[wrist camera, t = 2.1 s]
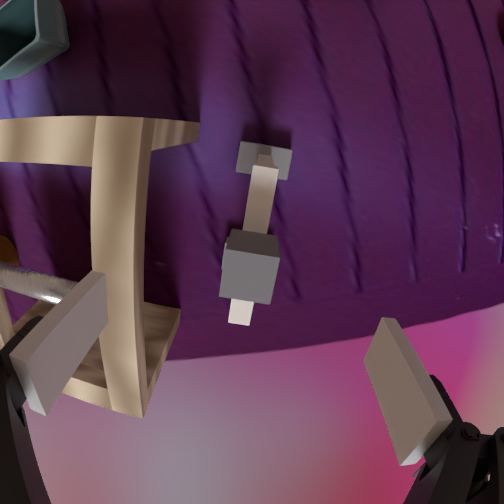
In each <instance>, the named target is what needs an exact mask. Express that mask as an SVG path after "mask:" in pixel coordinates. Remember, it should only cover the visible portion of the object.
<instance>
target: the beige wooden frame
mask: <svg viewBox="0 0 504 504" xmlns="http://www.w3.org/2000/svg"><path fill="white" fill-rule="evenodd" d="M199 127H200V123H199V122H190V121H180V120H169V119H157V118H143V117H122V116H50V117H30V118H16V119H4V120H0V162H24V163H45V164H62V165H76V166H89V167H92V180H91V253H92V271H96V272H101V273H105V275H106V294H107V309H108V321H109V322H108V324H107V325H106V326H105V328H104V329H103V331H102V332H101V334H100V335H99V336H98V338H97V339H96V341H95V342H94V344H93V345H92V347H91V348H90V350H89V351H88V352H87V354H86V355H85V357H84V358H83V360H82V361H81V363H80V364H79V366H78V367H77V369H76V370H75V372H74V373H73V375H72V377H71V378H70V380H69V381H68V383H67V384H66V386H65V387H64V389H63V391H62V392H61V393H64V394H67V395H70V396H72V397H75V398H77V399H80V400H83V401H86V402H89V403H92V404H95V405H98V406H101V407H104V408H107V409H110V410H114V411H117V412H120V413H124V414H127V415H131V416H135V417H138V418H142V419H143V417H144V415H145V412H146V409H147V406H148V404H149V401H150V398H151V396H152V392H153V390H154V388H155V385H156V382H157V379H158V377H159V374H160V372H161V369H162V366H163V364H164V361H165V359H166V356H167V354H168V351H169V348H170V346H171V343H172V341H173V338H174V336H175V333H176V331H177V328H178V326H179V323H180V311H181V309H177V308H172V307H167V306H162V305H157V304H152V303H147V302H144V243H145V222H146V205H147V191H148V179H149V169H150V159H151V151H152V150H157V149H161V148H166V147H171V146H176V145H181V144H187V143H192V142H197V141H198V134H199ZM78 283H79V282H77V281H73V280H69V279H65V278H61V277H57V276H53V275H49V274H45V273H41V272H38V271H34V270H30V269H27V268H23V267H20V266H16V265H13V264H9V263H6V262H2V261H0V350H1V349H2V348H3V347H4V346H5V345H6V343H7V342H8V341H9V340H10V339H11V338H12V337H13V336H14V335H16V333H17V332H18V331H19V330H20V329H22V327H23V326H24V325H25V324H26V323H27V322H28V321H29V320H31V319H33V318H35V317H37V316H38V315H39V316H42V317H45V316H46V315H47V314H48V313H49V311H50V310H51V309H52V308H53V307H54V306H55V305H56V304H57V303H58V302H59V301H60V300H61V299H62V298H63V297H64V296H65V295H67V294H68V293H69V292H70V291H71V290H72V289H73V288H74V287H75V286H76V285H77V284H78ZM3 288H6V289H9V290H12V291H15V292H18V293H21V294H24V295H27V296H30V297H33V298H36V299H39V301H38V302H37V303H36V304H35V305H34V306H33V307H32V308H30V309H29V310H28V311H27V312H26V313H25V314H24V315H23V316H22V317H21V318H20V319H19V320H18V321H17V322H16V323H15V324H14V325H13V326H12V323H11V319H10V315H9V311H8V307H7V303H6V299H5V295H4V290H3Z"/></svg>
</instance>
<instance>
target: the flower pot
mask: <svg viewBox="0 0 504 504" xmlns="http://www.w3.org/2000/svg"><path fill="white" fill-rule="evenodd" d="M69 46H70V45H69V38H68V31H67V23H66V17H65V13H64V9H63V7H62V4H61V2H60V1H59V0H8V1H7V2H6V3H5V4H4V5H3V6H2V7H0V80H7V79H14V78H18V77H22V76H24V75H26V74H29V73H31V72H32V71H34V70H36V69H38V68H39V67H41V66H43V65H44V64H46V63H47V62H49V61H50V60H52V59H53V58H55V57H56V56H58V55H59V54H61V53H63V52H64V51H66V50H67V49H68V48H69Z"/></svg>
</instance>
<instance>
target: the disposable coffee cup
mask: <svg viewBox="0 0 504 504" xmlns="http://www.w3.org/2000/svg"><path fill="white" fill-rule="evenodd" d="M0 261H2V262H6V263H9V264H13V265H16V266H19V259H18V254H17V251H16V249H15V247H14V245H13V244H12V242H11V241H10V240H9V239H8V238H6V237H4V236H0Z"/></svg>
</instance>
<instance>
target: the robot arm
mask: <svg viewBox="0 0 504 504" xmlns="http://www.w3.org/2000/svg"><path fill="white" fill-rule="evenodd" d="M108 322H109V321H108V309H107V294H106V275H105V273H101V272H96V271H91V272H90V273H88V274H87V275H86V276H85V277H84V278H83V279H82V280H81V281H80V282H79V283H78V284H77V285H76V286H75V287H74V288H73V289H72V290H71V291H70V292H69V293H68V294H67V295H65V296H64V297H63V298H62V299H61V300H60V301H59V302H58V303H57V304H56V305H55V306H54V307H53V308H52V309H51V310H50V311H49V313H48V314H47V315H46V316H45V317H42V316H39V315H38V316H37V317H35V318H33V319H31V320H29V321H28V322H27V323H26V324H25V325H24V326H23V327H22V329H20V330H19V331H18V332H17V333H16V335H14V336H13V337H12V338H11V339H10V340H9V341H8V342H7V343H6V345H5V346H4V347H3V348H2V349H1V350H0V504H51V502H50V499H49V496H48V494H47V491H46V488H45V485H44V483H43V480H42V476H41V473H40V470H39V467H38V464H37V461H36V457H35V453H34V450H33V446H32V442H31V438H30V434H29V430H28V426H27V421H26V416H25V412H24V409H23V406H22V405H23V403H24V402H25V400H26V399H27V401H28V404H29V406H30V408H31V409H32V410H34V411H36V412H38V413H40V414H43V415H45V416H47V415H48V413H49V411H50V410H51V408H52V407H53V405H54V403H55V402H56V400H57V399H58V397H59V395H60V394H61V392H62V391H63V389H64V387H65V386H66V384H67V383H68V381H69V380H70V378H71V377H72V375H73V373H74V372H75V370H76V369H77V367H78V366H79V364H80V363H81V361H82V360H83V358H84V357H85V355H86V354H87V352H88V351H89V350H90V348H91V347H92V345H93V344H94V342H95V341H96V339H97V338H98V336H99V335H100V334H101V332H102V331H103V329H104V328H105V326H106V325H107V324H108ZM363 362H364V364H365V368H366V370H367V373H368V375H369V378H370V381H371V383H372V386H373V389H374V392H375V394H376V397H377V400H378V403H379V406H380V408H381V411H382V414H383V417H384V420H385V422H386V426H387V429H388V432H389V435H390V437H391V440H392V444H393V447H394V450H395V453H396V456H397V459H398V462H399V465H400V466H402V465H409V464H416V462H417V461H418V460H419V459H420V458H421V457H422V456H423V455H424V457H425V460H426V462H425V463H424V464H423V465H422V466H421V467H420V468H419V469H418V470H417V471H416V472H415V473H414V474H413V476H412V477H415V476H416V475H417V474H418V475H417V477H416V480H415V481H414V484H413V485H412V487H411V490H410V491H409V493H408V495H407V497H406V499H405V501H404V503H403V504H504V427H500V428H498V429H497V430H496V432H495V433H494V434H493V435H484V434H481V433H480V431H479V429H478V428H477V427H476V426H474V425H473V424H471V423H468V422H463V421H462V419H461V417H460V415H459V413H458V412H457V410H456V408H455V406H454V404H453V402H452V401H451V399H449V398H450V397H449V395H448V394H447V392H446V390H445V388H444V386H443V385H442V383H441V382H440V381H439V380H438V379H437V378H436V377H435V376H434V375H429V374H428V372H427V371H426V369H425V367H424V365H423V364H422V362H421V361H420V359H419V357H418V355H417V354H416V352H415V350H414V348H413V347H412V345H411V344H410V342H409V340H408V338H407V337H406V335H405V334H404V332H403V330H402V329H401V327H400V325H399V324H398V322H397V321H396V319H394V318H384V317H382V318H381V321H380V323H379V326H378V328H377V331H376V333H375V335H374V338H373V340H372V342H371V345H370V347H369V349H368V351H367V354H366V356H365V358H364V360H363ZM489 474H490V480H489V481H488V475H489Z"/></svg>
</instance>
